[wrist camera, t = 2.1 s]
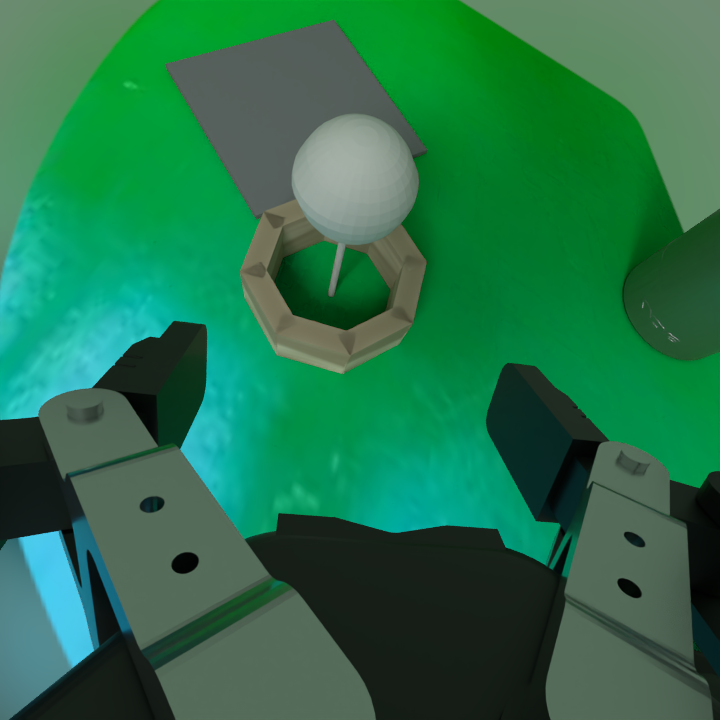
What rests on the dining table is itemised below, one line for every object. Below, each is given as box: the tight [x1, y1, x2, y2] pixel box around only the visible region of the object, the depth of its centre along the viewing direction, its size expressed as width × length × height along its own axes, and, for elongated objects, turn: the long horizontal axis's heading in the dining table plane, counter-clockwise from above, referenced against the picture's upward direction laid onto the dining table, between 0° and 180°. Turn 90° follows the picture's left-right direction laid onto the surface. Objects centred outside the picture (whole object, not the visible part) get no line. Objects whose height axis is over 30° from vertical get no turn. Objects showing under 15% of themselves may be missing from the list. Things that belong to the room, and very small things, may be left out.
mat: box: [165, 20, 427, 219], centre depth 38 cm, size 16×16×1 cm
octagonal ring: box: [240, 199, 427, 374], centre depth 31 cm, size 11×12×4 cm
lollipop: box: [292, 114, 419, 297], centre depth 26 cm, size 6×6×15 cm
